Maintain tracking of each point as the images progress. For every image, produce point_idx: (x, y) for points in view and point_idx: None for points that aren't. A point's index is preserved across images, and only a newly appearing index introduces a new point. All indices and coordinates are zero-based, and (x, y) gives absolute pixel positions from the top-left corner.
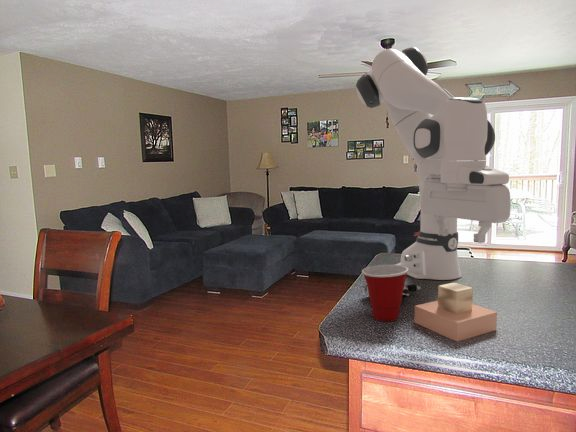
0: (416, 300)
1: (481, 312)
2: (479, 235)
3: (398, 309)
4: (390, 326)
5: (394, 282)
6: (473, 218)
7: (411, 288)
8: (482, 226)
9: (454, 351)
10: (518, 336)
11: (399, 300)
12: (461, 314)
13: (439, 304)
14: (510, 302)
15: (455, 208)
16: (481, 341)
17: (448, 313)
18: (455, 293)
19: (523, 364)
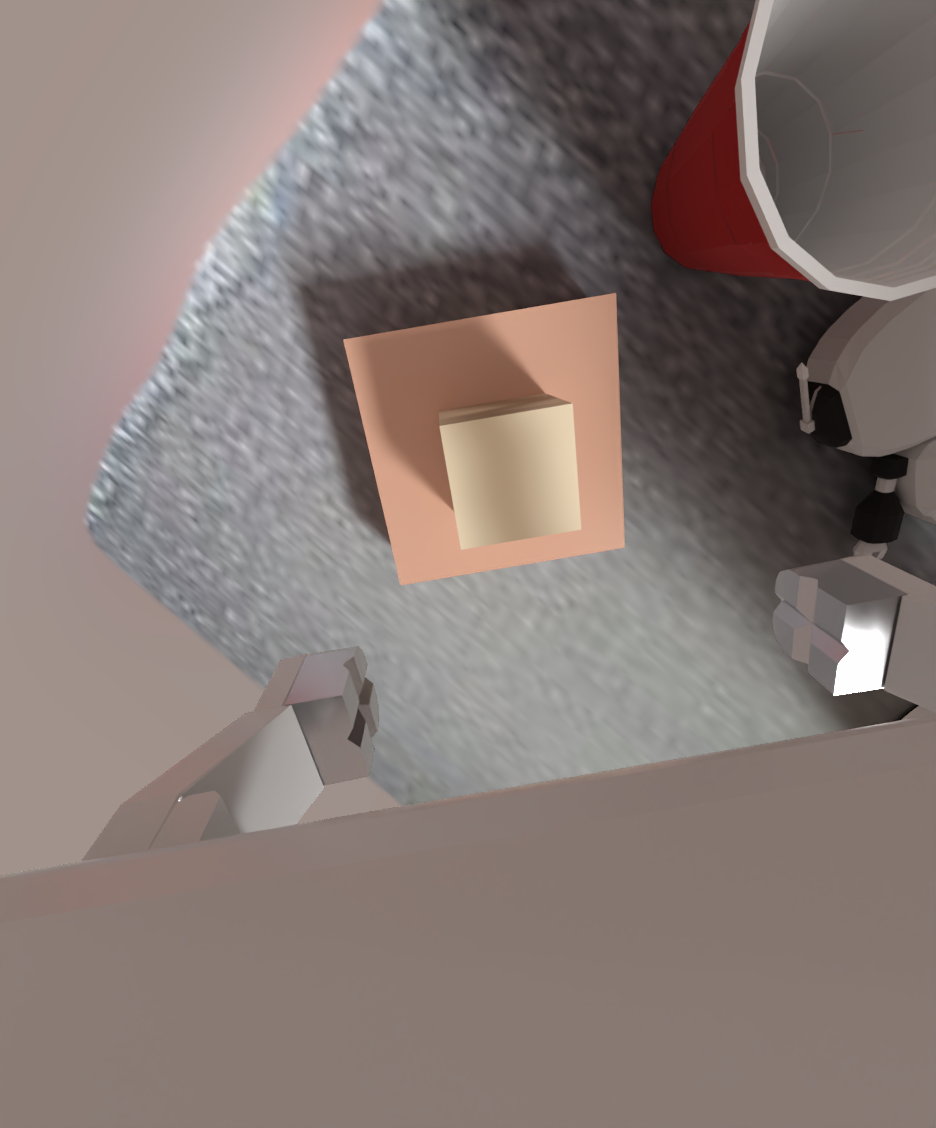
0: (789, 487)
1: (417, 527)
2: (262, 704)
3: (670, 231)
4: (604, 148)
5: (732, 88)
6: (198, 858)
7: (869, 509)
8: (147, 804)
9: (280, 262)
10: (337, 582)
11: (681, 213)
12: (428, 432)
13: (538, 395)
14: (586, 764)
15: (820, 991)
16: (335, 435)
17: (458, 383)
18: (446, 422)
19: (135, 430)
